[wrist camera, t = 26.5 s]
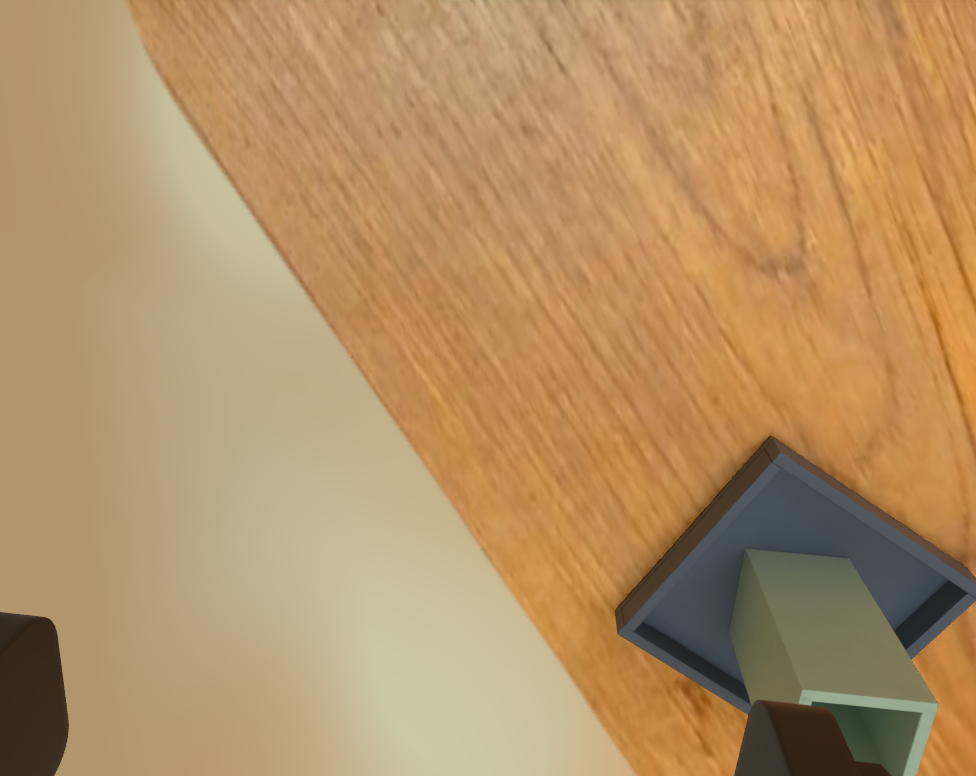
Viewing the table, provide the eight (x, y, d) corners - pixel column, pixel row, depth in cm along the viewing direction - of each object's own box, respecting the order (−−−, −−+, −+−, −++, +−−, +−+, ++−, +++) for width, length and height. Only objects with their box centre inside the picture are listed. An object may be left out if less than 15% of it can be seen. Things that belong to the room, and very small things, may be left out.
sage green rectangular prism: (907, 806, 32) (939, 704, 30) (777, 791, 32) (801, 689, 30) (828, 642, 41) (849, 557, 39) (728, 632, 41) (744, 548, 39)
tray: (799, 726, 43) (809, 753, 42) (614, 611, 42) (616, 634, 40) (968, 568, 39) (987, 591, 38) (770, 435, 38) (780, 452, 36)
